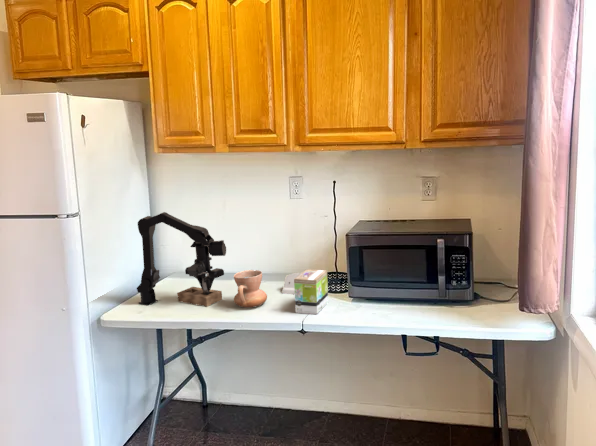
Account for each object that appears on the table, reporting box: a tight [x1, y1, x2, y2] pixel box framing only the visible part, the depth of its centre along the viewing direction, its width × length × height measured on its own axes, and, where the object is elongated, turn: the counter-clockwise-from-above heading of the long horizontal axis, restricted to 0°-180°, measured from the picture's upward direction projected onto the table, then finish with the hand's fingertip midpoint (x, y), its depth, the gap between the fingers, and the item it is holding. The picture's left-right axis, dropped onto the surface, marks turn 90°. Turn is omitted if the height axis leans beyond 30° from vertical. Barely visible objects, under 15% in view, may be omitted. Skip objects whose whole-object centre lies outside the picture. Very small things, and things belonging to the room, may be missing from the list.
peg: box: [202, 275, 210, 295], centre depth 244 cm, size 3×3×10 cm
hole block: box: [176, 286, 223, 307], centre depth 247 cm, size 18×10×4 cm, turn 56°
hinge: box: [281, 272, 302, 295], centre depth 250 cm, size 17×5×10 cm, turn 68°
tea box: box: [294, 269, 329, 315], centre depth 227 cm, size 15×10×15 cm, turn 160°
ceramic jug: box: [233, 269, 268, 309], centre depth 235 cm, size 18×14×14 cm
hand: (206, 289), depth 244 cm, fingers closed on peg, 3 cm apart
